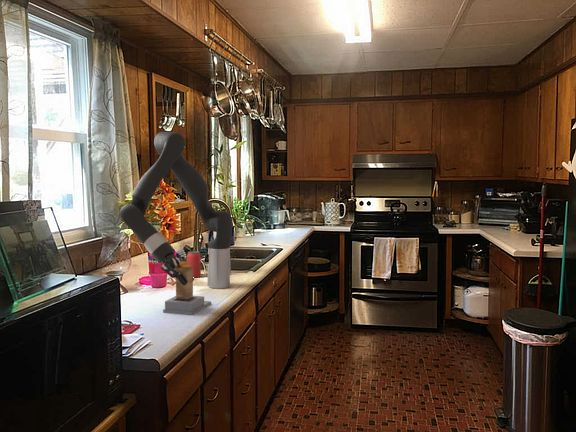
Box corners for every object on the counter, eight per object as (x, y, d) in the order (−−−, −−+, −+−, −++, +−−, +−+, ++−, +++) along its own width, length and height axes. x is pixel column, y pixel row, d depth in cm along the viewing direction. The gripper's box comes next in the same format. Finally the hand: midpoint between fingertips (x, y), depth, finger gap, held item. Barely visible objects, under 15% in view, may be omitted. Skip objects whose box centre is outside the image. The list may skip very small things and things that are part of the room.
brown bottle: (176, 298, 186) (175, 262, 185) (181, 295, 191) (181, 260, 189) (187, 299, 185) (187, 263, 184) (192, 296, 189) (192, 261, 188)
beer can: (185, 275, 248) (185, 251, 247) (199, 274, 251) (199, 250, 250) (188, 278, 242) (187, 253, 241) (202, 277, 245) (201, 252, 244)
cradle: (163, 312, 184) (162, 301, 184) (183, 301, 200) (183, 291, 199) (192, 315, 181) (192, 303, 181) (211, 303, 197) (211, 293, 196)
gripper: (155, 243, 181) (187, 279, 179) (175, 238, 195) (204, 272, 193) (142, 257, 183) (173, 293, 181) (162, 251, 197) (191, 285, 195)
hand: (189, 282), depth 187 cm, fingers closed on brown bottle, 4 cm apart
